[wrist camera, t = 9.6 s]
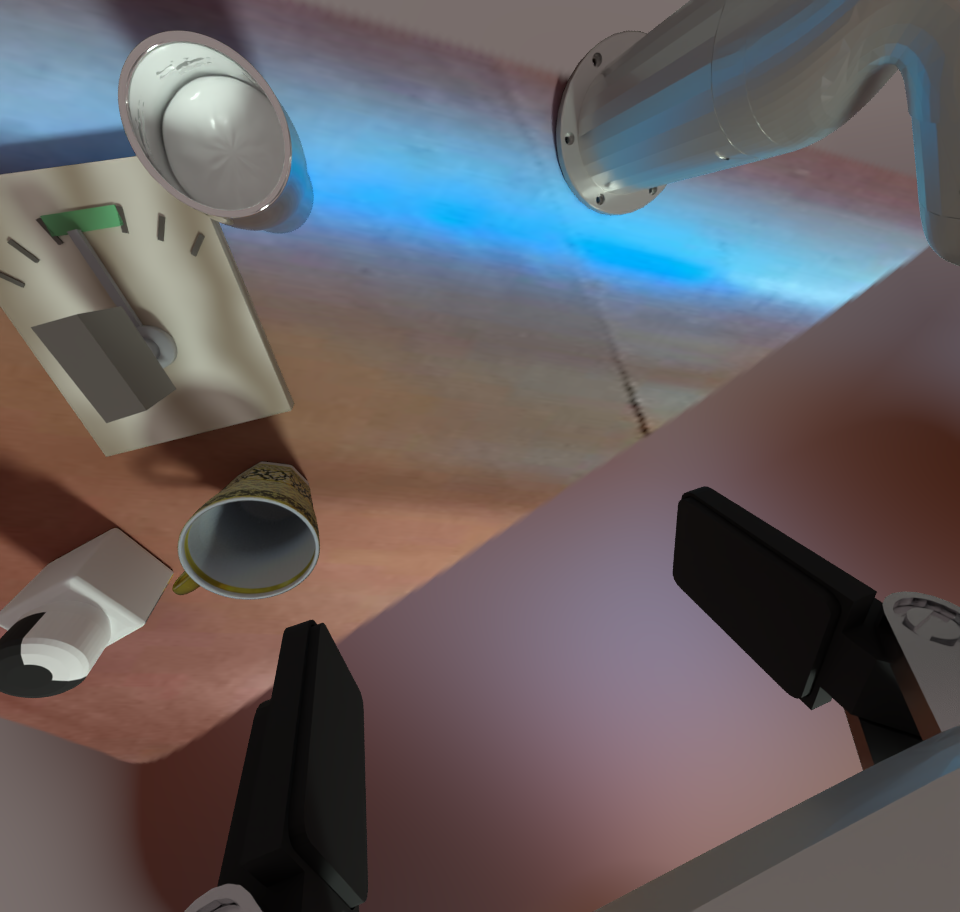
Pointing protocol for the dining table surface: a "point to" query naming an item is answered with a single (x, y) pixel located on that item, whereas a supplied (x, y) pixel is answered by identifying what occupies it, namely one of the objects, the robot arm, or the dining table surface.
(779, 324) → the dining table surface
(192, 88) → the beer glass
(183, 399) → the tuner board
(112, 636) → the medicine bottle
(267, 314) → the dining table surface
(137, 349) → the grey block on stem
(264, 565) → the ceramic cup
